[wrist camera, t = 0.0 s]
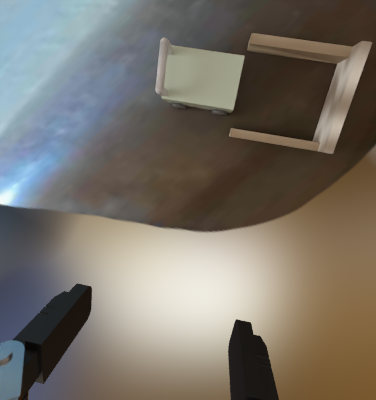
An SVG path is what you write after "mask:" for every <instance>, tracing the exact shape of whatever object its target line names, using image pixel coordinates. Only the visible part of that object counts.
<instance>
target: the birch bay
mask: <svg viewBox="0 0 376 400" xmlns="http://www.w3.org/2000/svg"><path fill="white" fill-rule="evenodd" d="M371 45H372V42H366V41H361V42H360V43H358V44H356V45H355V46H353V47H350V46H343V45H336V44H329V43H321V42H314V41H307V40H299V39H292V38H285V37H278V36H270V35H263V34H256V33H252V34H251V37H250V40H249V43H248V48H247V51H251V52H258V53H265V54H272V55H279V56H286V57H293V58H300V59H307V60H314V61H321V62H328V63H335V64H337V66H336V69H335V72H334V76H333V79H332V82H331V85H330V88H329V91H328V94H327V97H326V100H325V103H324V107H323V110H322V113H321V116H320V119H319V122H318V125H317V128H316V131H315V134H314V138H313V141H306V140H300V139H294V138H288V137H282V136H276V135H270V134H264V133H258V132H252V131H246V130H240V129H234V128H231V129H230V134H229V136H230V137H236V138H242V139H248V140H254V141H260V142H266V143H272V144H278V145H284V146H290V147H296V148H302V149H308V150H314V151H319V152H324V153H330V154H333V152H334V149H335V146H336V143H337V140H338V138H339V135H340V132H341V129H342V126H343V124H344V121H345V118H346V115H347V112H348V109H349V107H350V104H351V101H352V98H353V95H354V93H355V90H356V87H357V84H358V81H359V79H360V76H361V73H362V70H363V67H364V65H365V62H366V59H367V56H368V53H369V51H370V48H371Z"/></svg>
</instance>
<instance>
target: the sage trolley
mask: <svg viewBox="0 0 376 400" xmlns="http://www.w3.org/2000/svg"><path fill="white" fill-rule="evenodd" d="M244 57H245V56H242V55H235V54H228V53H221V52H214V51H208V50H201V49H194V48H187V47H180V46H173V45H171V43H170V41H169V40H168V39H167V38H162V39H161V41H160V50H159V60H158V70H157V79H156V93H158V94H159V95H161V96H162V97H161V98H162V99H164V100H165V101H167V102H169V103H172V104H171V107H174V108H179V109H186V107H187V106H191V107H197V108H203V109H209V110H212V114H216V115H222V116H227V112H228V113H231V112H232V111H233V110H234V105H235V100H236V95H237V91H238V86H239V81H240V76H241V71H242V66H243V62H244Z"/></svg>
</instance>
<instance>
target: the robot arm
mask: <svg viewBox="0 0 376 400" xmlns="http://www.w3.org/2000/svg"><path fill="white" fill-rule="evenodd" d="M91 298H92V288H91V286H86V285H82V284H76V285H75V286H74V287H73V288H72V289H71V290H70V292H65V291H64V292H62V293H61V294H59V295H57V296H55V297H54V298H53V299H52V300H51V301H50V302H49V303H48V304H47V305H46V307H44V308H43V309H42V310H41V311H40V313H39V314H37V315H36V316H35V318H34V319H33V320H32V321H31V322H30V323H29V324H28V325H27V326H26V327H25V328H24V329H23V330H22V331H21V332H20V333H19V334H18V335H17V336H16V337H15V338H14V339H13V340H12V341H7V342H3V343H1V344H0V400H28V396H29V389H30V388H31V387H32V385H33V384H34V382H38V383H42V384H44V382H45V381H46V379H47V378H48V377H49V375H50V374H51V372H52V371H53V369H54V368H55V366H56V365H57V364H58V362H59V361H60V359H61V358H62V356H63V355H64V353H65V351H66V350H67V349H68V347H69V346H70V344H71V343H72V341H73V340H74V339H75V337H76V336H77V334H78V332H79V331H80V330H81V328H82V327H83V325H84V324H85V322H86V321H87V319H88V317H89V315H90V312H91ZM228 353H229V354H228V356H229V375H230V393H231V400H279V399H278V394H277V390H276V385H275V381H274V377H273V373H272V369H271V364H270V360H269V355H268V351H267V347H266V345H265V343H264V342H263V340H262V338H261V337H260V336H257V335H253V330H252V325H251V323H250V322H246V321H241V320H236V321H235V324H234V327H233V331H232V335H231V338H230V341H229V349H228Z"/></svg>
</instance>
